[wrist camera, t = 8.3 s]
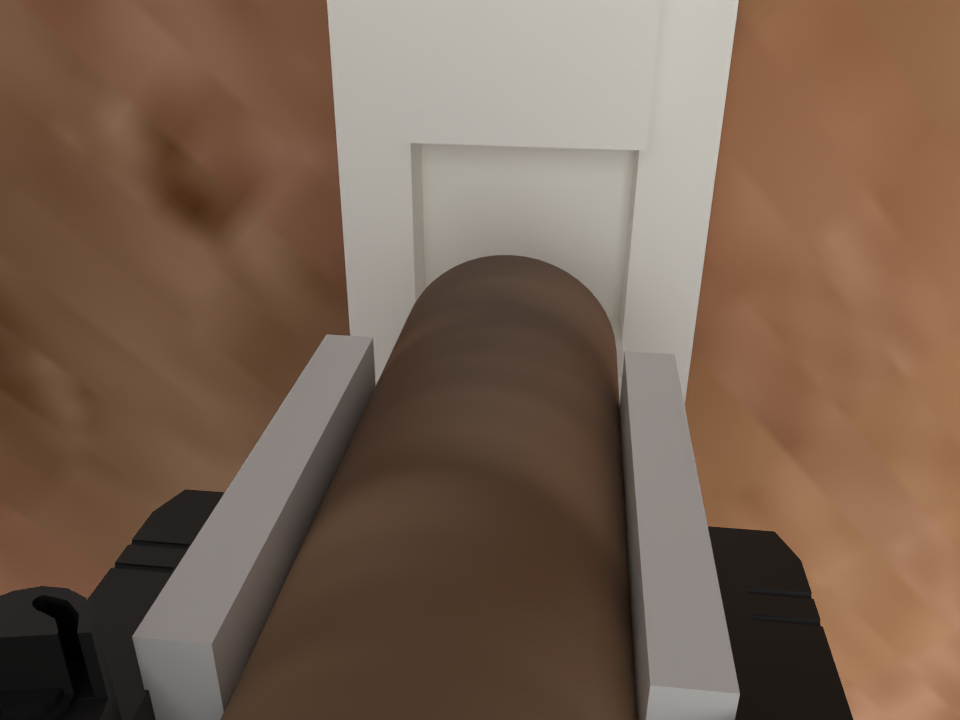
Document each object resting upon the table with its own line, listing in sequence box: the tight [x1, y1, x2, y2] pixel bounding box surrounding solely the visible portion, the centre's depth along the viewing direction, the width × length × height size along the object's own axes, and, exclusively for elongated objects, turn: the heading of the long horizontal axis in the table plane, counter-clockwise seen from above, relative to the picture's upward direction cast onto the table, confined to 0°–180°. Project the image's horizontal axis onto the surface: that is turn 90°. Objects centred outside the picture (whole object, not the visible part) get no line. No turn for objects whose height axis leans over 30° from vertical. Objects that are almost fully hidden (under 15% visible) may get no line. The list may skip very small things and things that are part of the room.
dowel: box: [221, 255, 637, 720], centre depth 10 cm, size 4×4×14 cm
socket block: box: [327, 0, 739, 406], centre depth 19 cm, size 9×20×5 cm, turn 0°
